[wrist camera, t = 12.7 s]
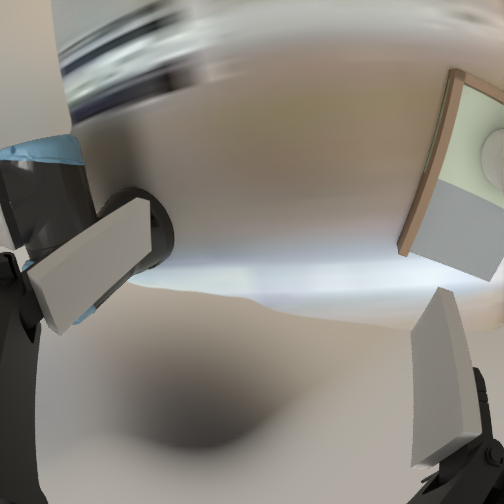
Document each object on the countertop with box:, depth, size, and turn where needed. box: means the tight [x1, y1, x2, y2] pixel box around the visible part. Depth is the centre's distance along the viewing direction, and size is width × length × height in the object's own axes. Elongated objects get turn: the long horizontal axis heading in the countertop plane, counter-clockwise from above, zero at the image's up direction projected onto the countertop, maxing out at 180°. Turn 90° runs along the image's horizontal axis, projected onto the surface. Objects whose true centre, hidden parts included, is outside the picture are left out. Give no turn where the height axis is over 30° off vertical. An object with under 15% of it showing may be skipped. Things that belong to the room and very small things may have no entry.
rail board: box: [397, 68, 504, 282], centre depth 28 cm, size 16×24×3 cm, turn 172°
